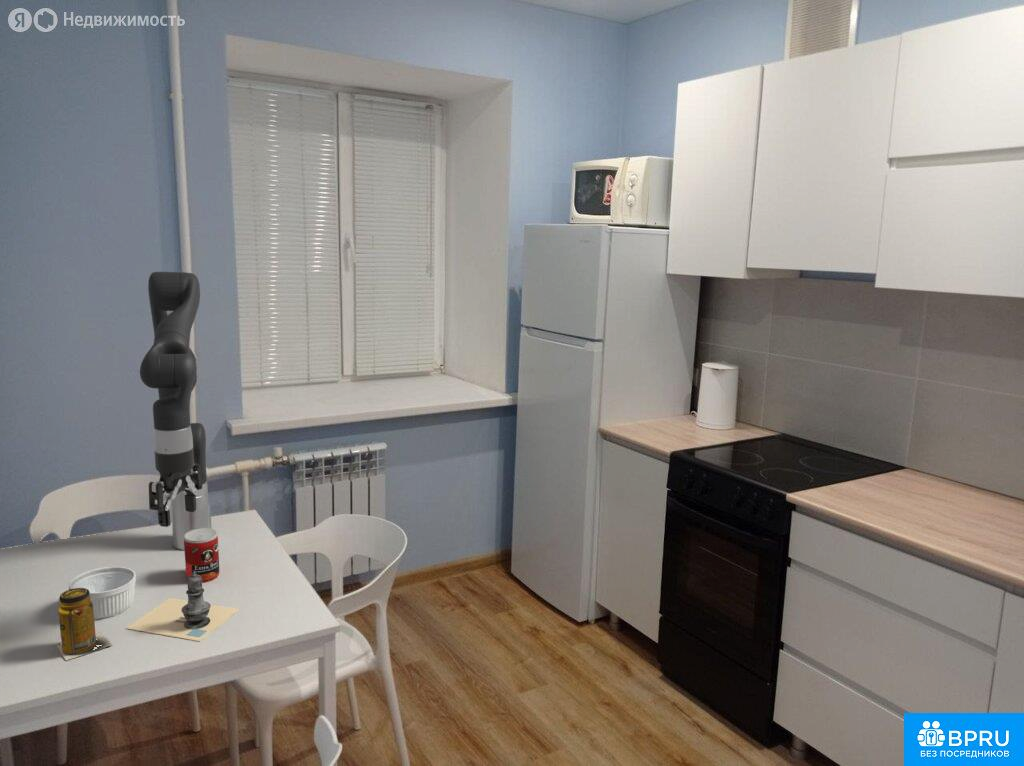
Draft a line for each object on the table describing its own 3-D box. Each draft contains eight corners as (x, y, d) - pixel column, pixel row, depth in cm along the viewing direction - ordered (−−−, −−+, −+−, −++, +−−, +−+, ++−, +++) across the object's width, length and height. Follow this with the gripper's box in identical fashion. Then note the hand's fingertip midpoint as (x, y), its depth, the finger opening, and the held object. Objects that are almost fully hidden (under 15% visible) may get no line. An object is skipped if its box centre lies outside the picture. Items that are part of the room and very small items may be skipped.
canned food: (192, 586, 179) (190, 543, 177) (181, 574, 185) (178, 532, 183) (224, 577, 184) (222, 535, 182) (212, 566, 190) (210, 525, 188)
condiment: (56, 646, 153) (50, 591, 150) (102, 632, 158) (97, 579, 156) (65, 661, 147) (60, 605, 145) (112, 646, 153) (108, 592, 151)
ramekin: (146, 609, 168) (144, 580, 167) (80, 629, 159) (78, 599, 158) (127, 588, 178) (124, 561, 176) (64, 606, 169) (61, 577, 167)
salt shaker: (201, 631, 159) (198, 578, 157) (176, 627, 160) (172, 575, 158) (217, 617, 165) (214, 566, 162) (193, 614, 166) (190, 563, 164)
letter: (170, 598, 173) (170, 597, 173) (239, 609, 169) (239, 608, 169) (125, 628, 160) (125, 627, 160) (199, 641, 156) (199, 640, 156)
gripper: (166, 459, 151) (171, 533, 155) (210, 439, 165) (213, 508, 169) (134, 455, 153) (140, 529, 157) (180, 435, 167) (184, 504, 170)
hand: (178, 518), depth 163 cm, fingers open, 8 cm apart
